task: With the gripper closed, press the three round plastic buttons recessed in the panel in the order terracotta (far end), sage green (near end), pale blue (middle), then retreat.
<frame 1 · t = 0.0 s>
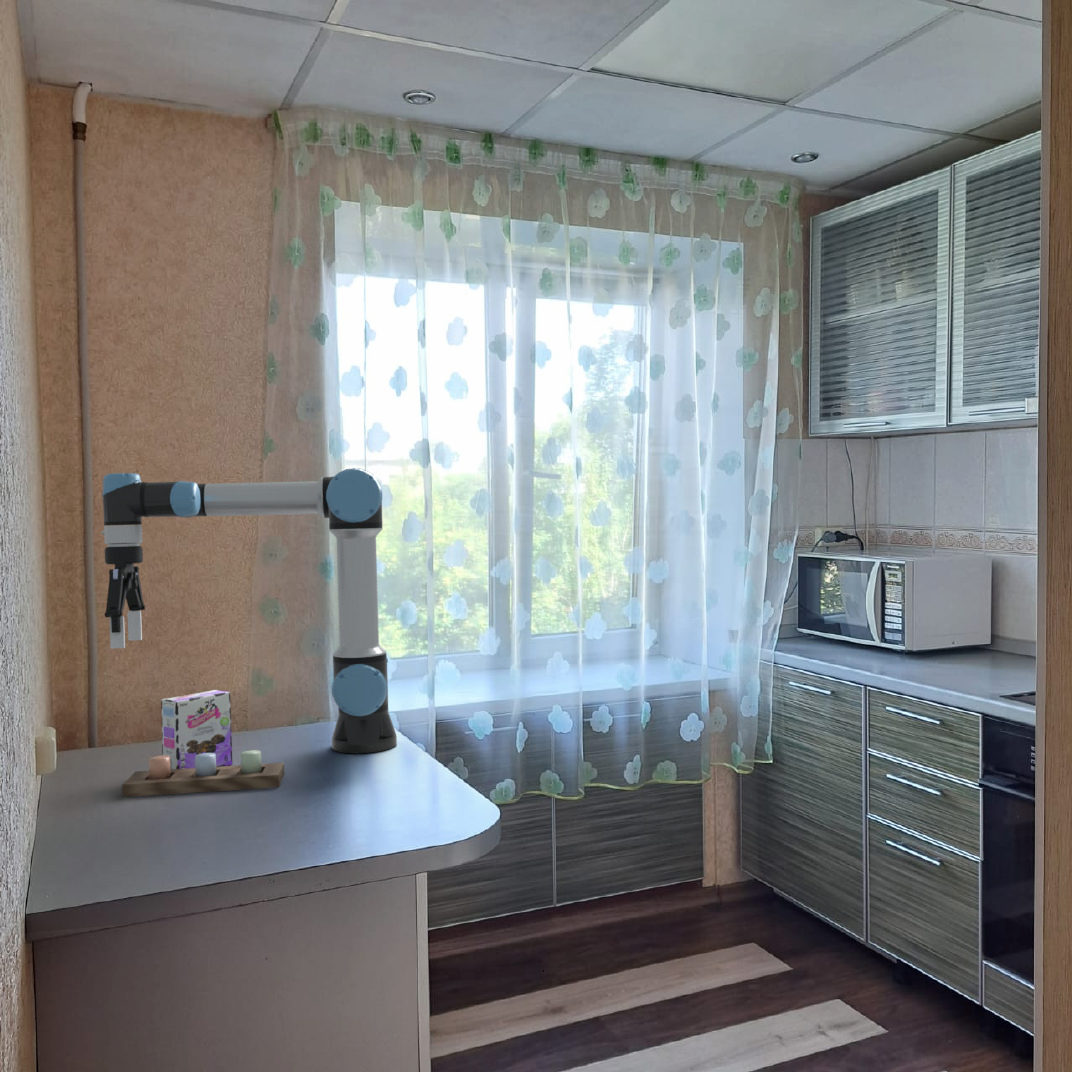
hand: (126, 644, 209), 28 cm above the countertop, fingers open, 13 cm apart
button blue: (205, 764, 199), point 4 cm above the countertop, slide at 0.0 cm
panel: (206, 785, 199), on the countertop
button sage: (251, 762, 200), point 4 cm above the countertop, slide at 0.0 cm
button terracotta: (159, 767, 198), point 4 cm above the countertop, slide at 0.0 cm
candy box: (198, 770, 212), on the countertop
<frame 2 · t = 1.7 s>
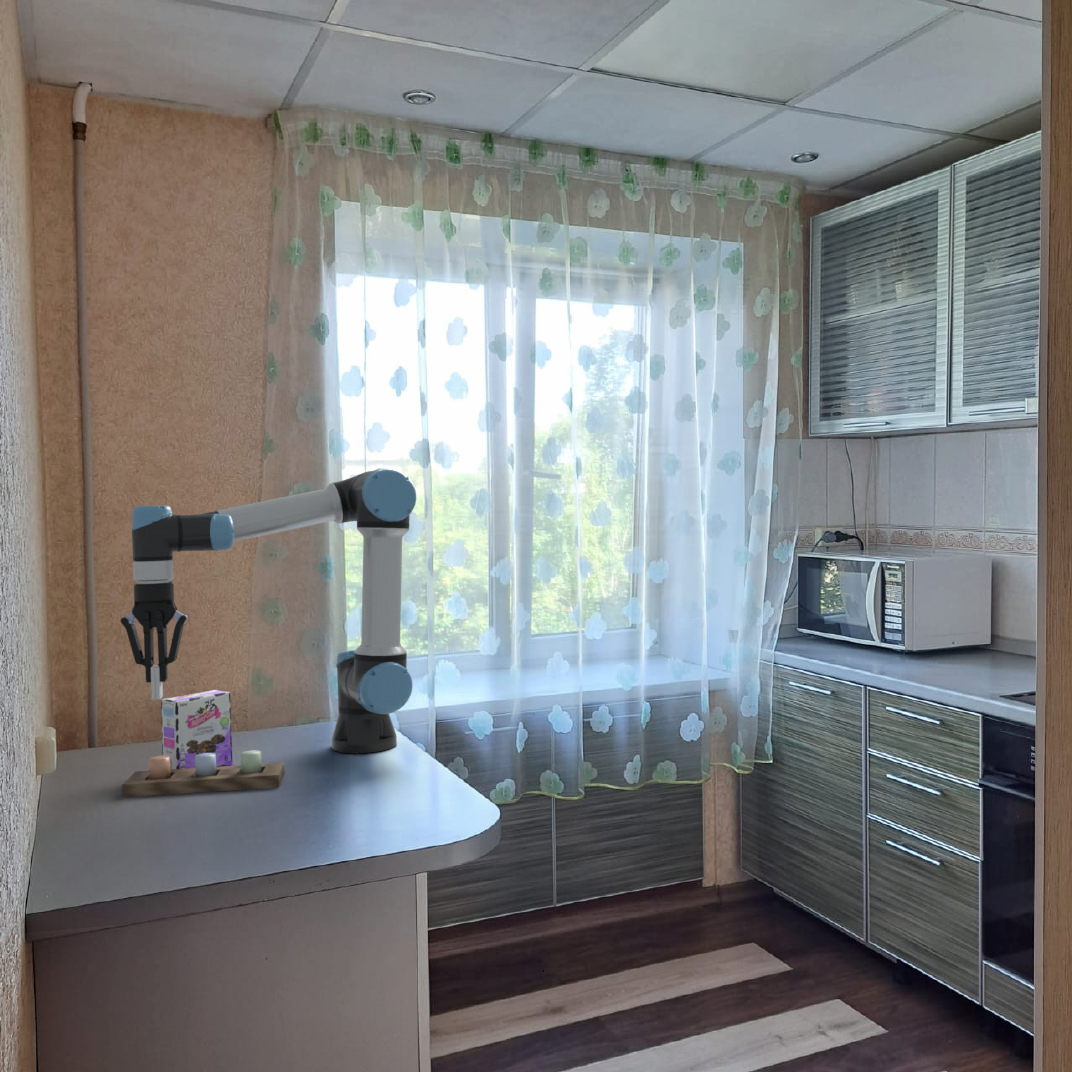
hand: (157, 698, 197), 18 cm above the countertop, fingers closed
nothing on the countertop moved.
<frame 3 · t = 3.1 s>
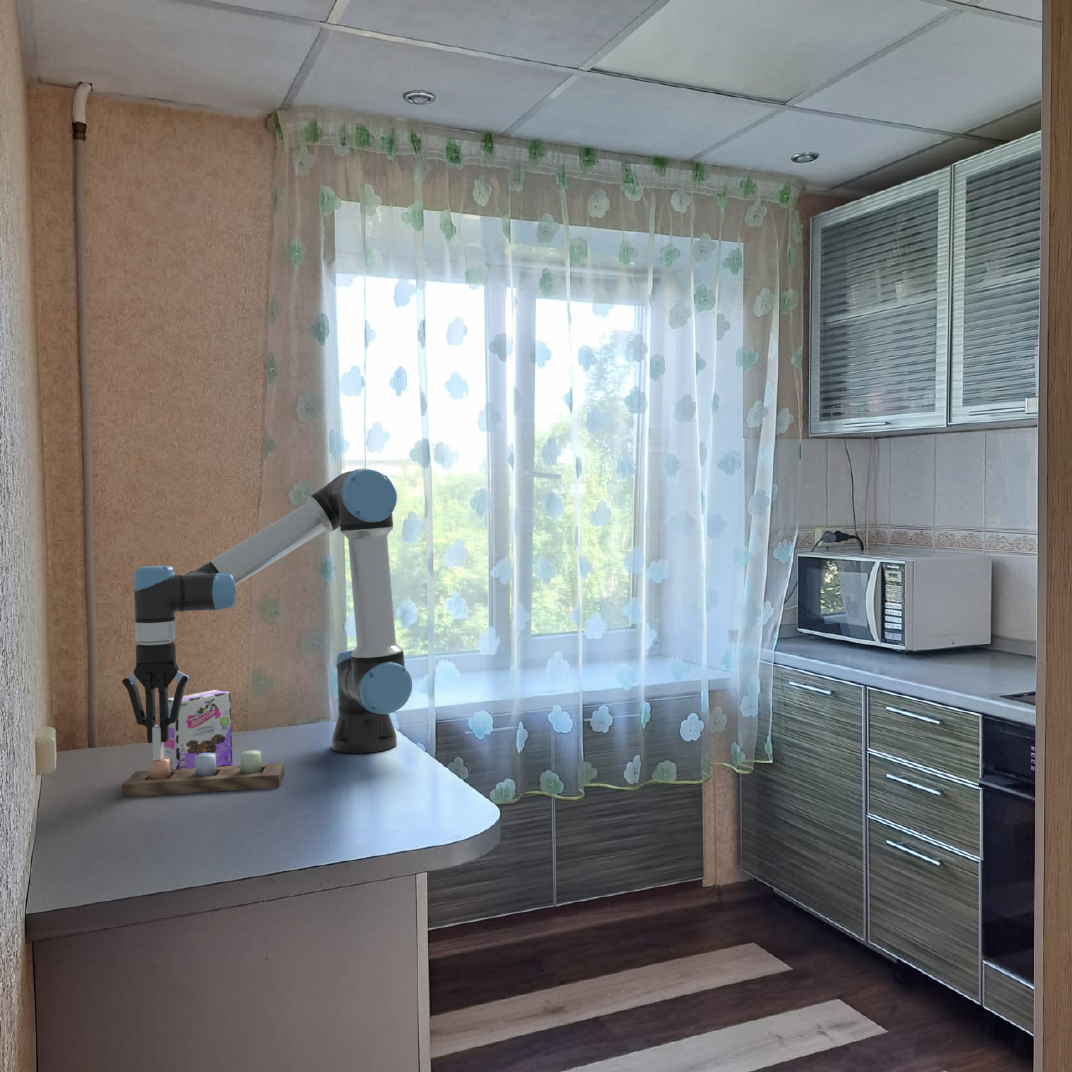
hand: (158, 758, 197), 6 cm above the countertop, fingers closed
button terracotta: (159, 769, 198), point 4 cm above the countertop, slide at 0.3 cm, touching gripper
everything else where it was.
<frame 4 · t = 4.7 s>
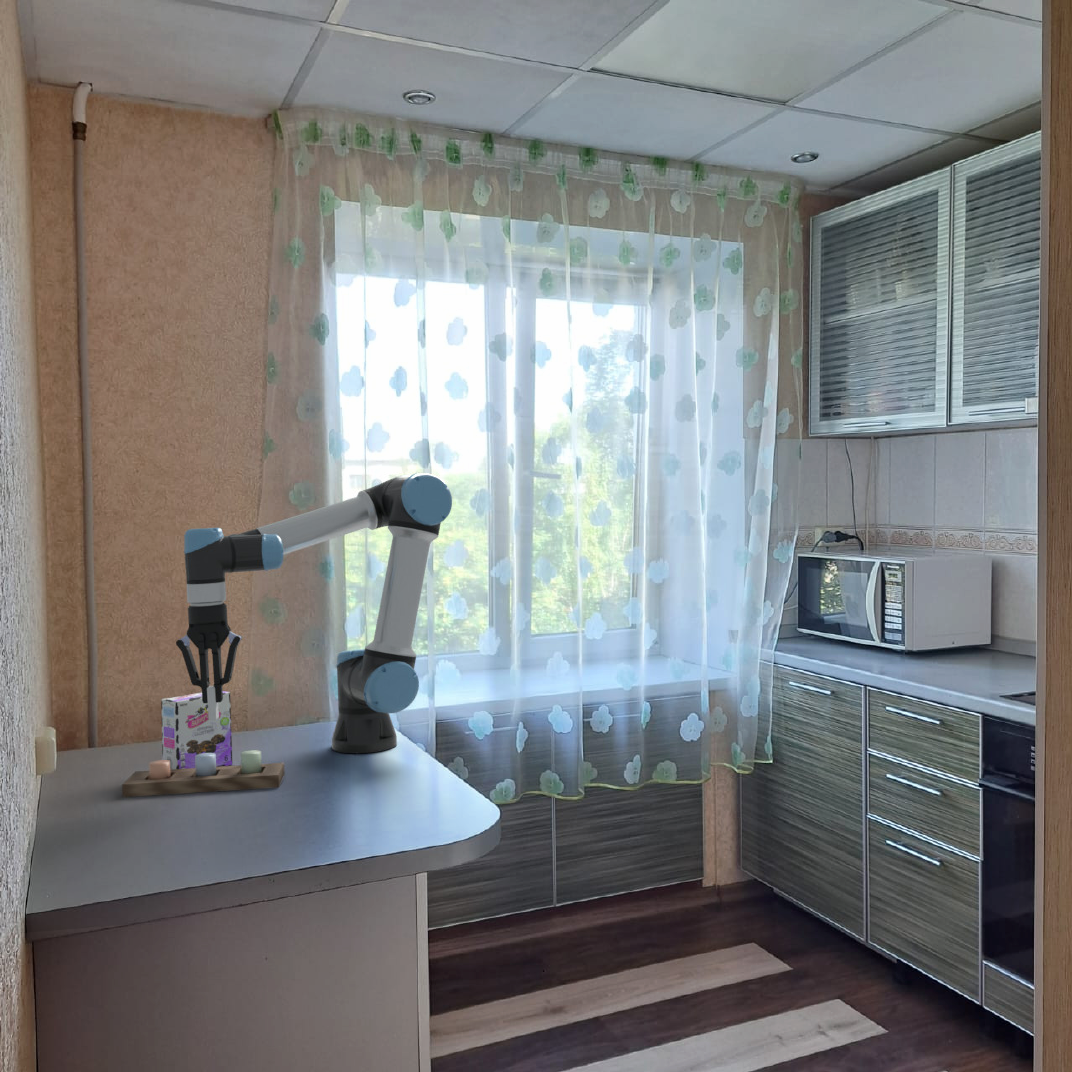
hand: (213, 718, 199), 14 cm above the countertop, fingers closed
button terracotta: (159, 772, 198), point 3 cm above the countertop, slide at 0.9 cm
everything else where it was.
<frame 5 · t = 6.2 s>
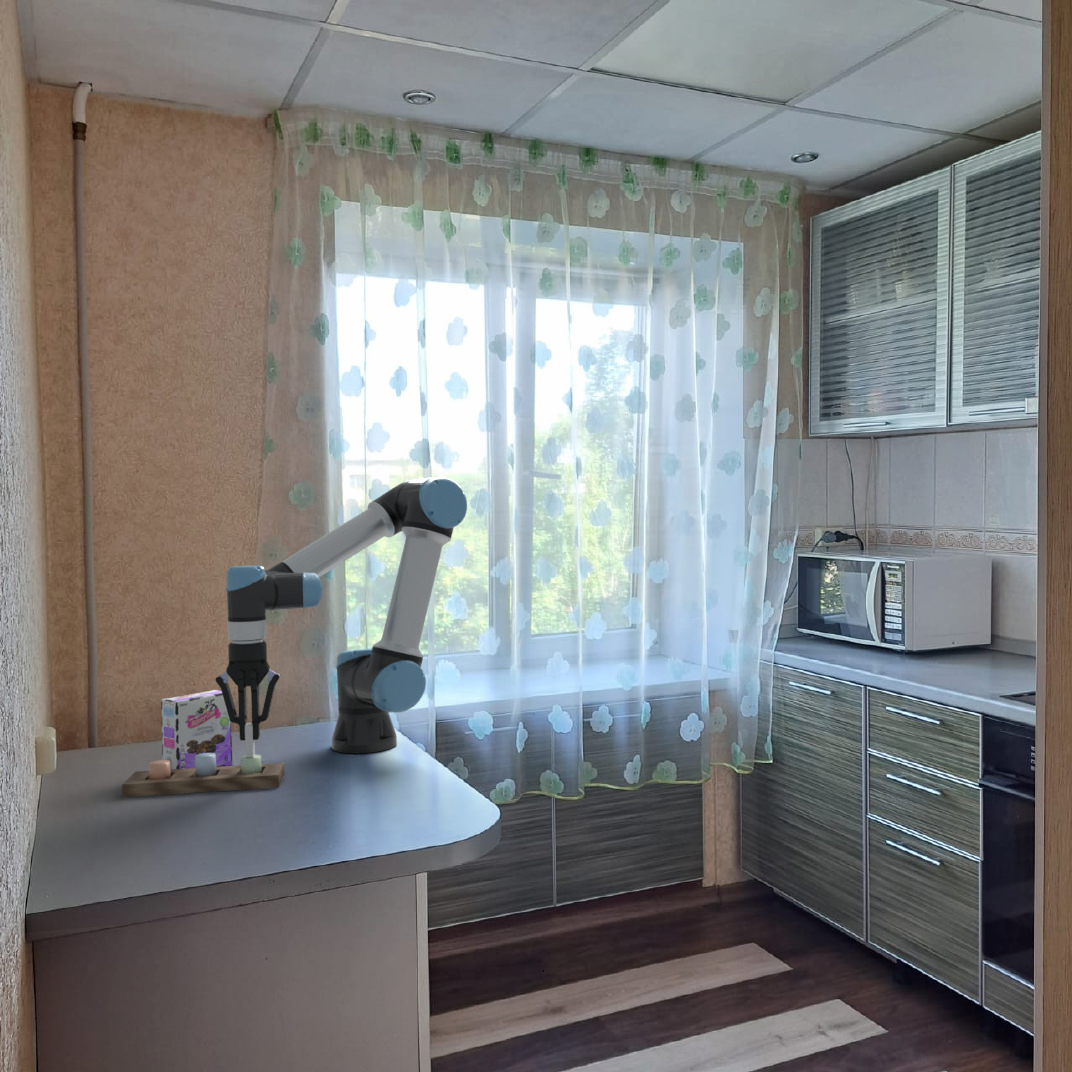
hand: (250, 755, 200), 6 cm above the countertop, fingers closed
button sage: (251, 766, 200), point 3 cm above the countertop, slide at 0.9 cm, touching gripper
everything else where it was.
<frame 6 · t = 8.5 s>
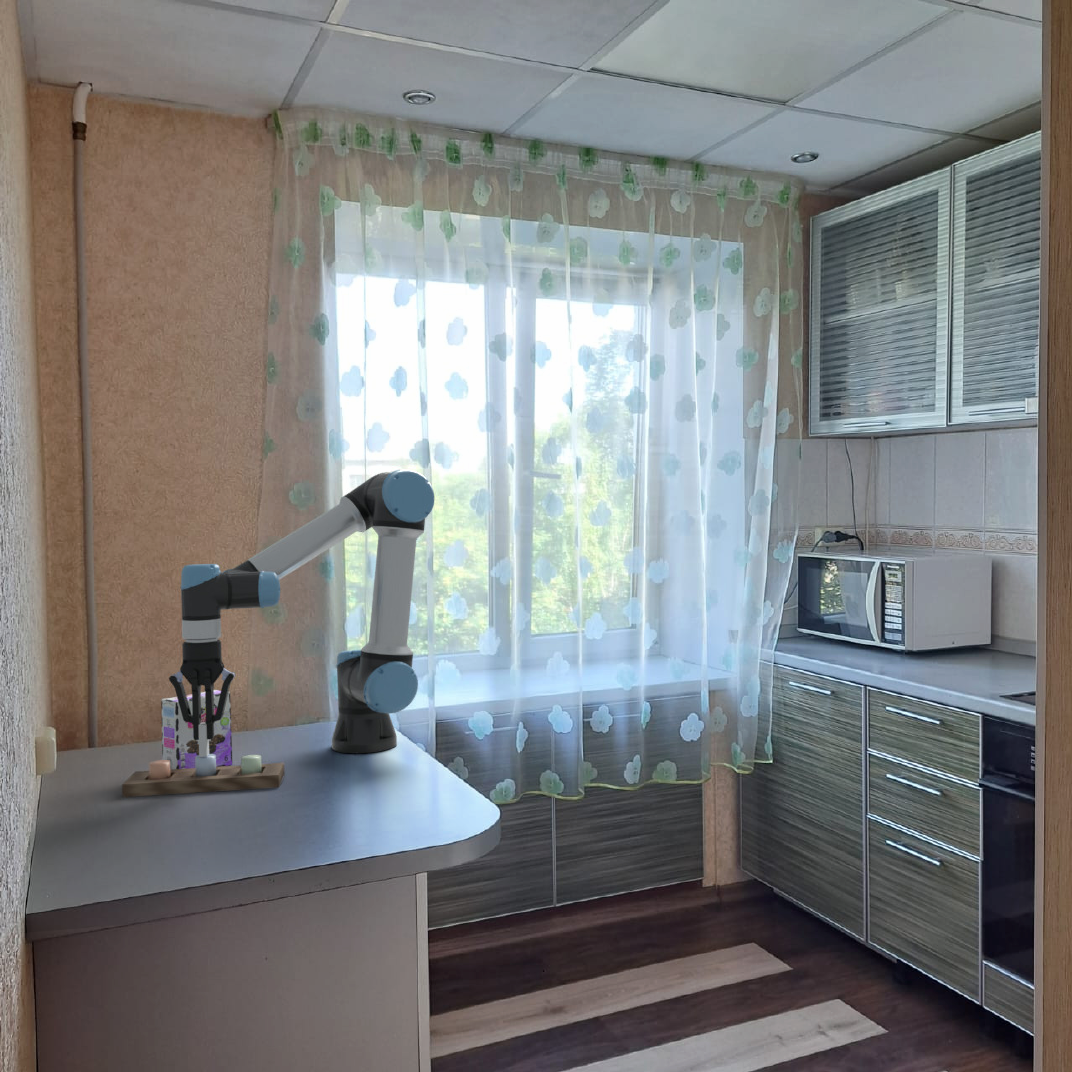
hand: (204, 755, 199), 6 cm above the countertop, fingers closed
button blue: (205, 766, 199), point 4 cm above the countertop, slide at 0.3 cm, touching gripper
button sage: (251, 766, 200), point 3 cm above the countertop, slide at 0.9 cm
everything else where it was.
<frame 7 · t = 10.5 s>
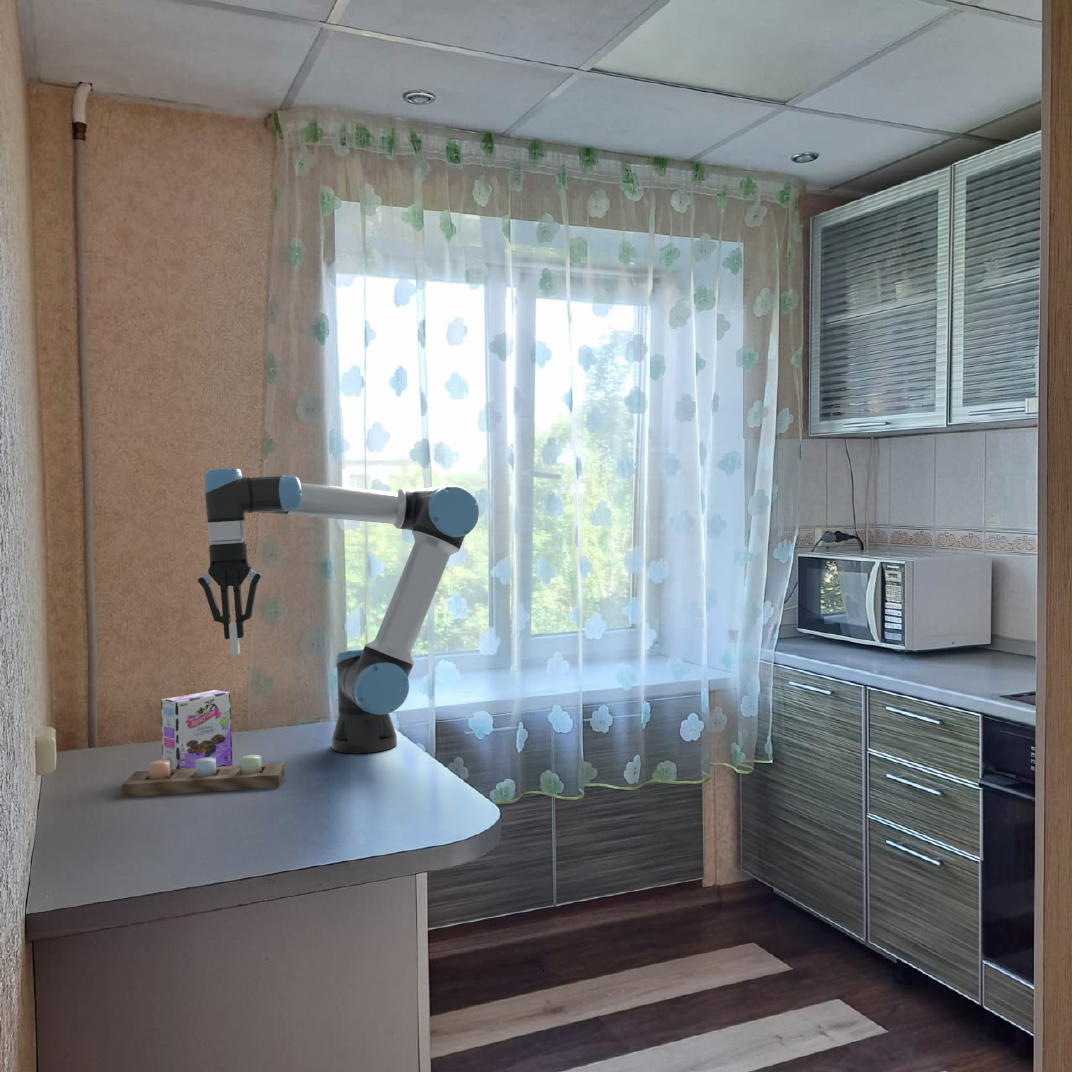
hand: (235, 653, 206), 26 cm above the countertop, fingers closed
button blue: (205, 769, 199), point 3 cm above the countertop, slide at 0.9 cm
everything else where it was.
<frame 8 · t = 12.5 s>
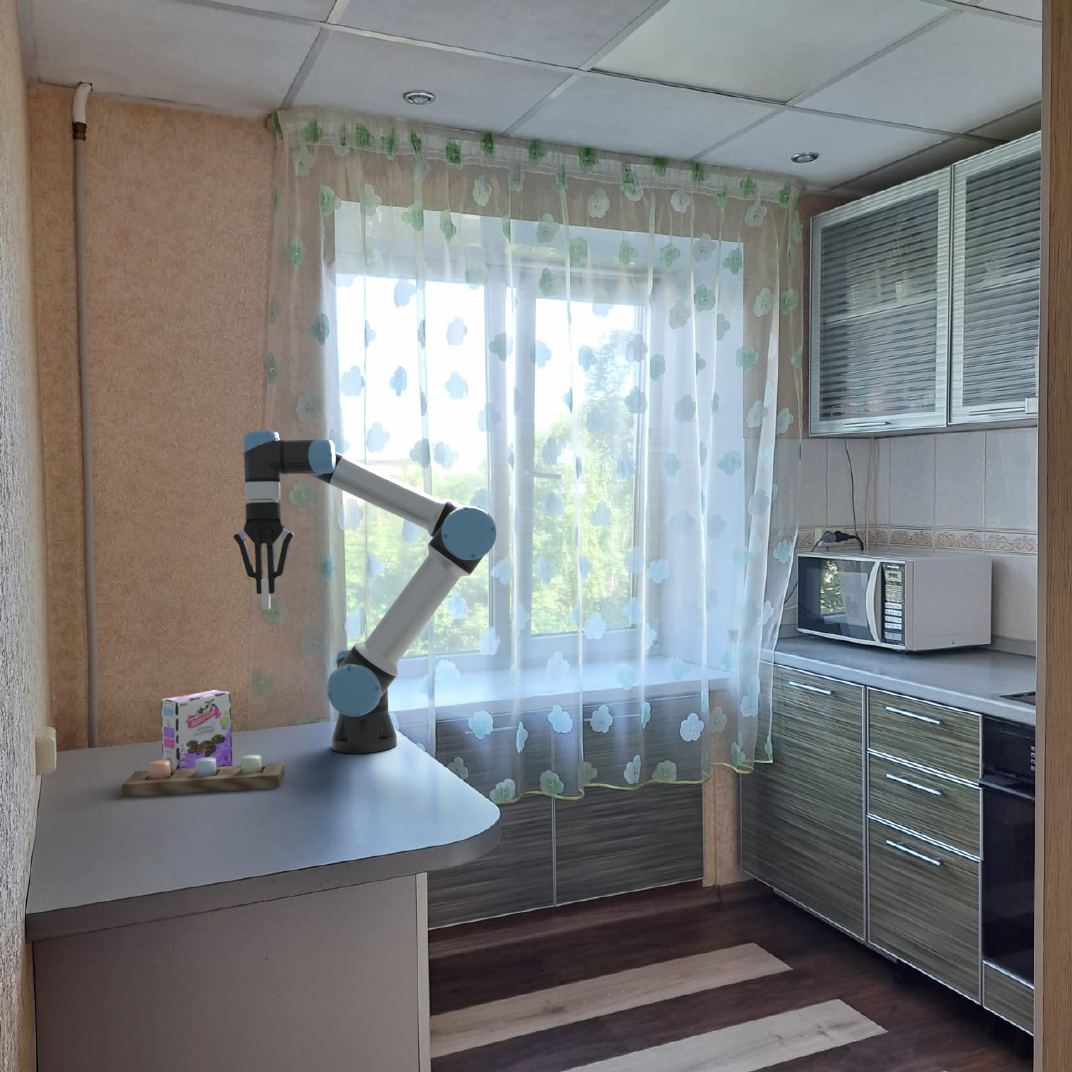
hand: (266, 608, 215), 34 cm above the countertop, fingers closed
nothing on the countertop moved.
at the end: button terracotta slide at 0.9 cm; button sage slide at 0.9 cm; button blue slide at 0.9 cm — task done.
